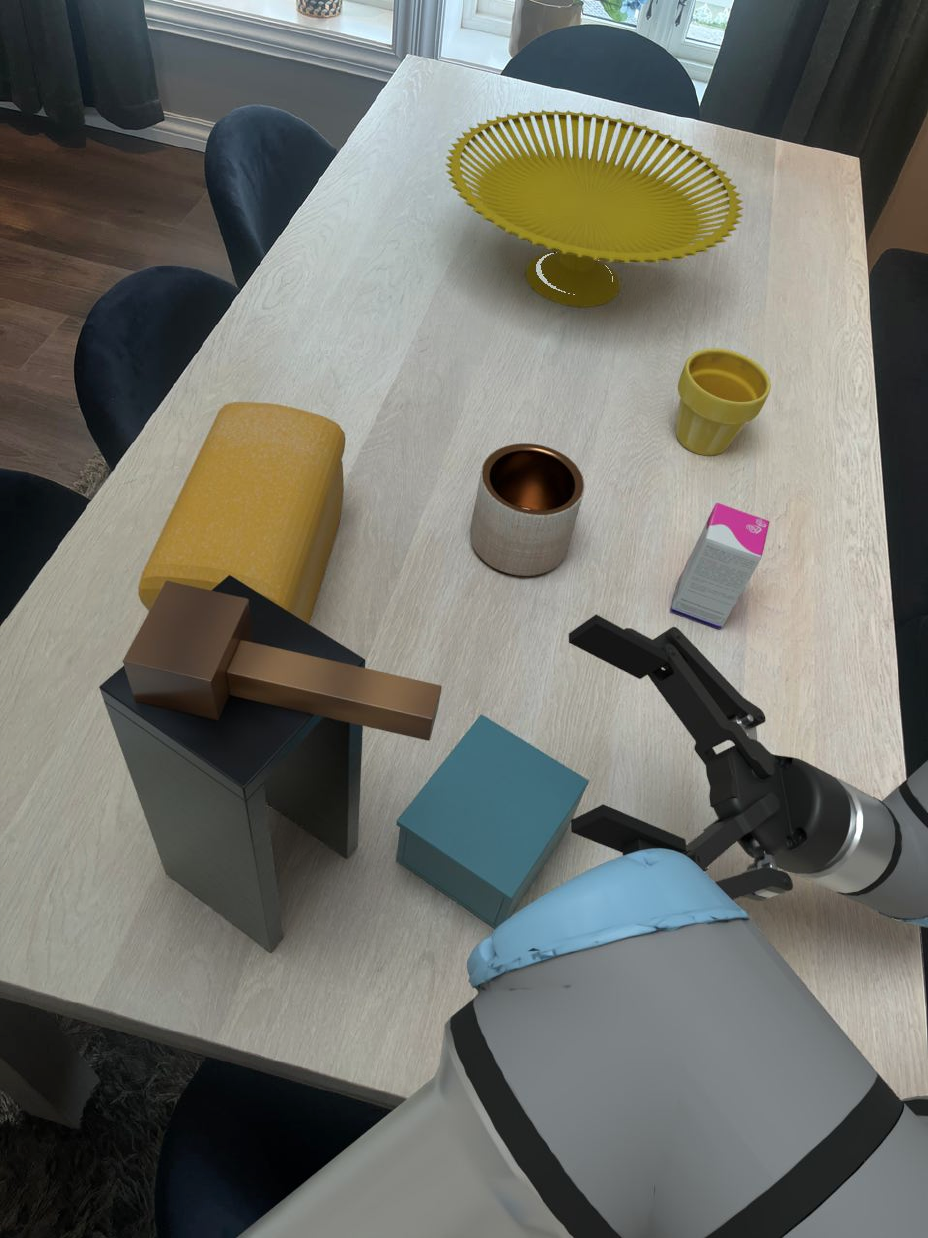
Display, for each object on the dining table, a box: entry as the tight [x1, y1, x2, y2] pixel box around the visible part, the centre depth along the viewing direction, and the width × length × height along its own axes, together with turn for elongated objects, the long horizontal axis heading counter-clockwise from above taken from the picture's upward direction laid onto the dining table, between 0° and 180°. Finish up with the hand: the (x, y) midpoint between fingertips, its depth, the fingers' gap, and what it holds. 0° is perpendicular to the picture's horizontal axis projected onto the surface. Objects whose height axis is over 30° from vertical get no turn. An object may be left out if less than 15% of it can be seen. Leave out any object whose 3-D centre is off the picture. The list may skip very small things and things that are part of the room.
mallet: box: [122, 581, 442, 742], centre depth 53 cm, size 17×6×4 cm, turn 79°
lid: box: [395, 713, 590, 902], centre depth 73 cm, size 12×10×1 cm
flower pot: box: [675, 347, 772, 456], centre depth 112 cm, size 10×10×10 cm
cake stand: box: [445, 109, 744, 308], centre depth 129 cm, size 40×40×15 cm
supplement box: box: [669, 502, 770, 630], centre depth 94 cm, size 6×6×12 cm
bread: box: [137, 401, 347, 625], centre depth 88 cm, size 24×13×15 cm, turn 172°
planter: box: [469, 442, 585, 577], centre depth 98 cm, size 11×11×10 cm
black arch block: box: [98, 575, 366, 954], centre depth 66 cm, size 11×11×27 cm
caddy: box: [395, 785, 588, 930], centre depth 76 cm, size 11×10×8 cm
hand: (583, 716), depth 57 cm, fingers open, 13 cm apart
